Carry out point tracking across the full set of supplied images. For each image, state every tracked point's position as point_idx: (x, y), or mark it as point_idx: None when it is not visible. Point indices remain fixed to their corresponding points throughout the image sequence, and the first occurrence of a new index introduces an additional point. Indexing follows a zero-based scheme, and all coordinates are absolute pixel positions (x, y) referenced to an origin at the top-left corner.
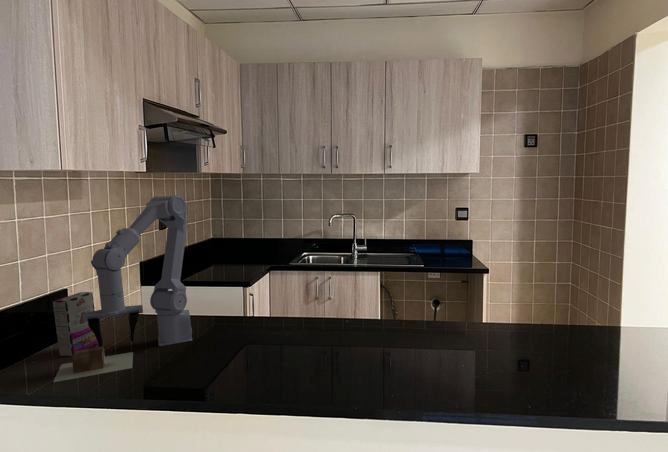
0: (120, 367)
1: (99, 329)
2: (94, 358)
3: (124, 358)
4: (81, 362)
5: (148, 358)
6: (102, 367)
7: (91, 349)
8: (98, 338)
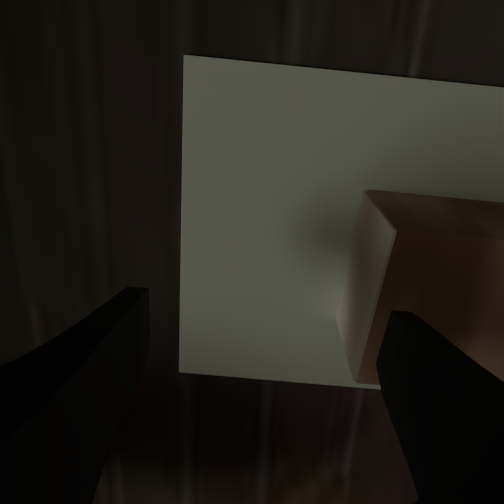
0: (262, 124)
1: (473, 454)
2: (444, 221)
3: (228, 293)
4: None
5: (84, 213)
6: (371, 192)
7: None
8: (453, 353)
